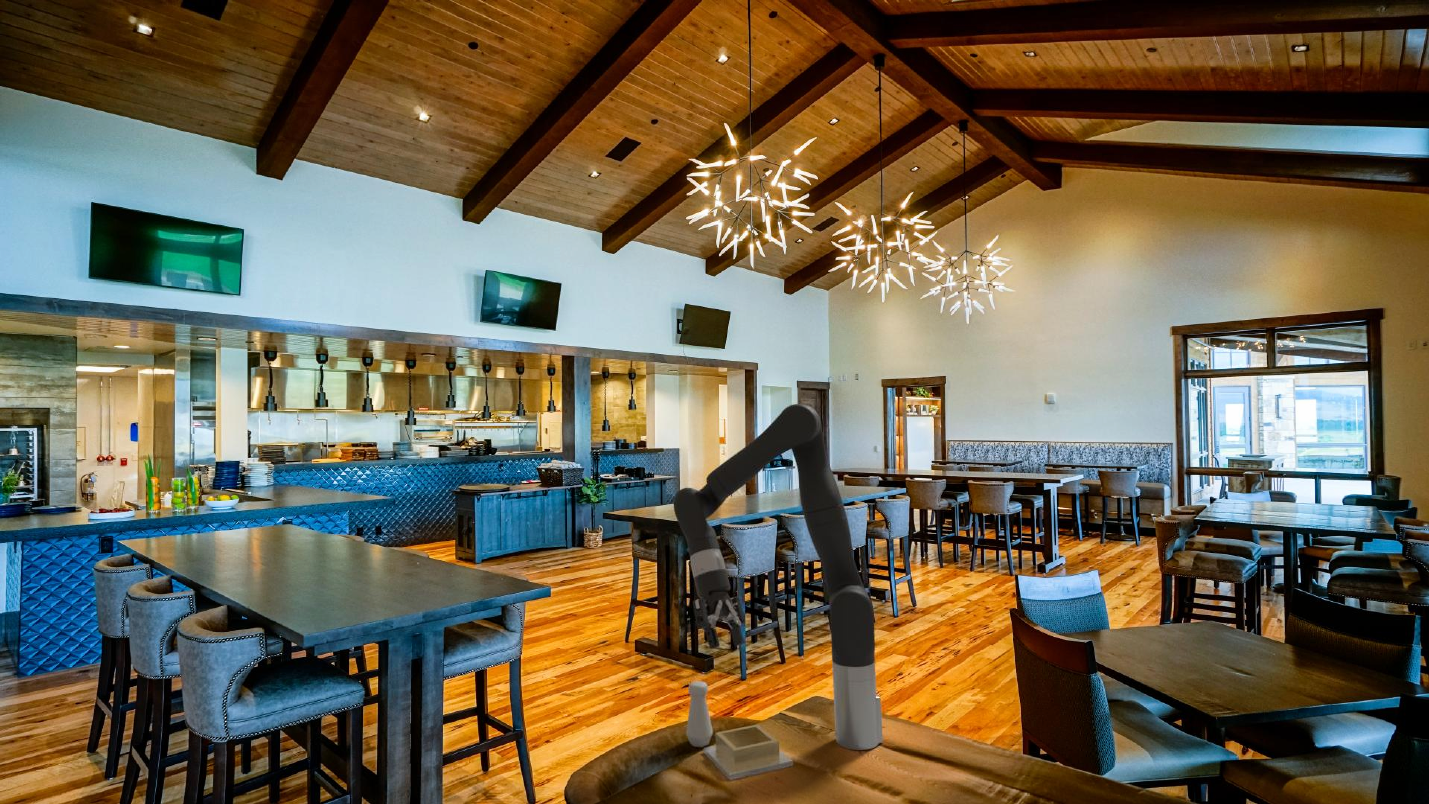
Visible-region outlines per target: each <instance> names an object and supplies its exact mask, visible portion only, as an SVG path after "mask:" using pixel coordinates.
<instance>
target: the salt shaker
mask: <svg viewBox="0 0 1429 804" xmlns="http://www.w3.org/2000/svg"><path fill="white" fill-rule="evenodd" d="M708 691H709V686H708V684H707V682H705V681H700V680H697V681H692V682H691V683H690V684H689V685H688V694H689V695H690V703H689V711H688V716H687V726H686V731H685V732H686V733H685V734H686V737H687V738H688V741H689V744H690V745H691V746H693V747H696V748H697V747H698V748H705V746H706V747H707V746H708V745H709V744H710V741H711V739H712V736H713V732H714V731H713V725H712V723H711V722H712V721H711V716H710V712H709V708H708V703H707V699H706V695H707V694H708ZM709 746H710V745H709Z"/></svg>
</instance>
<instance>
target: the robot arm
mask: <svg viewBox="0 0 1429 804" xmlns="http://www.w3.org/2000/svg"><path fill="white" fill-rule="evenodd" d="M822 428H823V427H822V421H821V418H820V415H819V413H818V412H817V411H816V410H815V409H814V408H813V407H811V406H809V405H807V404H802V403H794V404H791V405H788V406H787V407H785V408H783V410H781V412H780V414H779V415H777V417H776V418H775V419H774V420H773V421H772V422H771V423H770V425H769V426H767V428H766V429H764V430H763V432H762V433H760V435H758V436H757V437H756V438H755V439H754V440H752V441H750V442H749V444H747V445H746V446H744V447H743V448H742V449H741V450H739V451H738V452H736V453H735V454H734V455H732V456H731V457H729V458H728V459H727V460H726V461H723V463H722V464H720V465H719V466H718V467H716V468H715V469H714V470H712V471H711V472H710V473H709V474H708V475H707V477H706V484H705V485H704V486H703V487H702V488H700V489H699V490H698V489H695V488H692V487H684V488H681V489H679V490H678V491H677V492H676V493H675V496H674V499H673V511H674V515H675V519H677V522H678V525H679V526H680V530H681V531H682V533H683V535H684V537H685V540H686V544H687V549H688V553H689V557H690V566H691V571H692V577H693V579H694V585H695V588H696V594H697V597H698V598H697V599H695V600H693V601H692V606H693V612H694V618H695V623H696V628H697V629H698V630H699V629H702V630H703V631H704V633H705V635H706V640H707V644H708V645H709V648H710V650H714V649H717V648H719V647H720V641H719V636H718V631H717V629H716V624H717V621H718V620H722V621H723V622H725V623H726V624H727V625H728V626H729V627H730V633H731V639H732V642H733V645H734V646H735V647H738V646H742V645H743V644H744V636H743V632H742V629H741V626H742V624H743V623H744V624H745V623H746V618H745V614H744V611H743V607H742V604H741V601H740V598H739V596H738V595H737V596H734V597H730V596H729V591H730V590H731V584H730V580H729V577H728V572H727V568H726V564H725V560H724V557H723V555H722V552H721V548H720V545H719V540H718V537H717V533H716V531H715V529H714V528H713V527H712V526H711V525H710V524H709V523H708V521H707V519H708V518H709V517H711V516H712V515H713V514H715V512H716V511H717V510H718V509H719V508H720V507H721V506H722V505H723V504H724V502H725V501H727V500H726V499H728V497H730V496H731V495H733V494H734V493H735V492H737V491H738V490H740V488H742V487H744V486H745V485H746V484H747V483H749V482H750V481H752V479H754V477H755V476H757V474H759V473H760V472H761V471H762V470H763V469H764V468H765V467H766V466H767V465H768V464H770V463H771V462H772V461H774V460H775V459H777V458H778V457H779V456H780V455H783V454H784V453H787V452H788V451H790V450H791V452H792V456H793V457H794V460H795V465H796V469H797V475H798V489H799V497H800V504H801V509H802V514H803V517H804V521H805V524H806V527H807V530H808V531H807V532H808V534H809V536H810V540H811V542H812V545H813V548H814V550H815V551H816V554H817V555H818V559H819V560H820V563H821V566H822V568H823V573H824V578H825V582H826V587H827V596H828V599H829V600H828V602H829V603H828V604H829V614H830V615H829V617H830V618H829V619H830V637H831V663H832V683H833V685H832V687H833V707H834V708H833V709H834V710H833V711H834V728H835V730H834V731H835V742H836V744H837V745H839V746H840V747H843V748H845V749H848V750H854V751H855V750H856V751H863V750H864V751H865V750H870V749H873V748H876V747H877V746H879V744H881V743H883V742H884V741H883V739H884V738H883V737H884V736H883V721H882V720H883V718H882V703H881V701H882V699H881V697H880V696H879V695H877V679H876V678H877V676H876V663H875V662H876V659H875V655H876V653H875V651H876V638H875V617H874V614H875V613H874V606H873V604H872V601H871V599H870V596H869V594H868V593H867V590H866V588H865V586H864V583H863V582H862V578H861V576H860V573H859V571H858V568H857V565H856V561H855V558H854V552H853V551H854V550H853V543H852V535H851V530H850V525H849V521H848V516H847V512H846V509H845V505H844V502H843V499H842V496H841V492H840V490H839V486H838V484H837V481H836V478H835V475H834V473H833V471H832V468H831V465H830V462H829V459H828V455H827V451H826V446H825V440H824V436H823V435H824V434H823V433H824V432H823V429H822Z"/></svg>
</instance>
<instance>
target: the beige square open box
mask: <svg viewBox="0 0 1429 804" xmlns="http://www.w3.org/2000/svg"><path fill="white" fill-rule="evenodd" d="M714 735H715V745H712V746H706V747H703V753H704V752H705V753H704V754H706V755H707V756H706V755H705V756H706V757H707V758H708V759H709V760H710V761H711V762H712V763H713V764H714V765H715V766H716V767H717V769H718V770H719V771H720V772H722V774H723V775H724V776H725V777H726V779H728V780H729V781H734V780H737V779H742V778H745V777H746V776H747V777H751V776H755V775H760V774H764V773H767V772H772V771H777V770H782V769H786V768H790V767H789V766H791V767H794V760H792V759H791V758H790V757H789V756H788V755H787V754H785V753H784V752H783V751H782V750H781V749H780V740H778V739H777V738H775V737H774V735H772V734H770V733H769V732H768V731H767V730H766V729H764V728H763V727H761V726H760V725H759V724H753V725H747V726H743V727H738V728H737V727H736V728H733V729H728V730H723V731H718V732H715V734H714ZM750 775H751V776H750Z"/></svg>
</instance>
